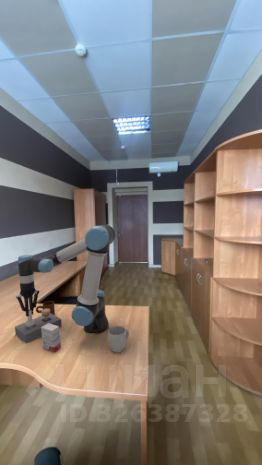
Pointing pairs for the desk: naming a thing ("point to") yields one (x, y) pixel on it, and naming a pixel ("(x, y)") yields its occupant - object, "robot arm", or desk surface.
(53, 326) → the ink box
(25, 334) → the panel
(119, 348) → the mug
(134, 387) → the desk surface
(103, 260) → the robot arm
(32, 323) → the grey plug
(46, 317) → the terracotta plug
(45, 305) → the mug
